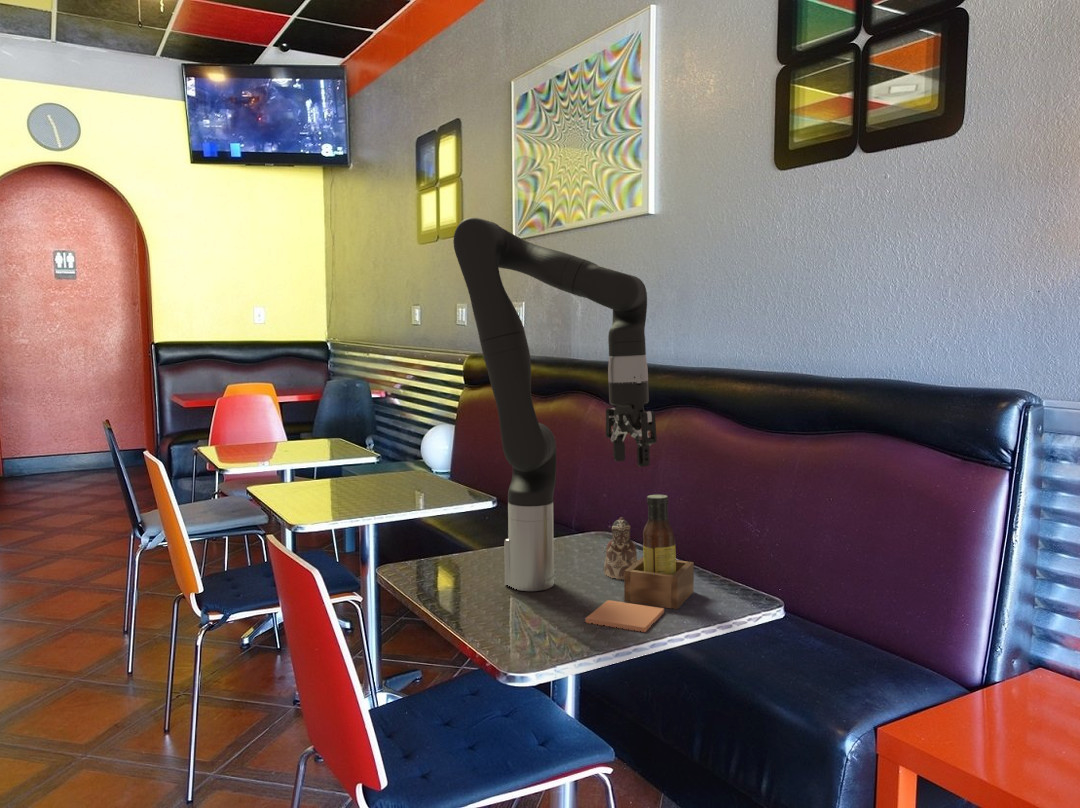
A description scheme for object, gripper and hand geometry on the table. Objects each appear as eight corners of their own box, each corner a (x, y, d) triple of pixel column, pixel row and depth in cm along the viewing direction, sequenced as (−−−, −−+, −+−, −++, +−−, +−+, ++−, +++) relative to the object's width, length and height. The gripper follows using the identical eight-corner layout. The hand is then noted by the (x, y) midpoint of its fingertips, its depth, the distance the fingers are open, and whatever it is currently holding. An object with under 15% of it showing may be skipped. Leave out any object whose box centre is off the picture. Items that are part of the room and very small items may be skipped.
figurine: (601, 577, 165) (601, 521, 164) (607, 568, 172) (608, 514, 171) (634, 580, 163) (634, 523, 162) (640, 571, 170) (640, 516, 169)
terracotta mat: (585, 622, 138) (585, 618, 138) (607, 604, 148) (607, 600, 148) (645, 632, 133) (645, 627, 133) (664, 612, 143) (664, 608, 143)
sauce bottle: (681, 595, 153) (682, 494, 152) (669, 604, 148) (670, 500, 147) (650, 589, 157) (650, 491, 155) (637, 598, 151) (638, 497, 150)
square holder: (624, 601, 149) (624, 570, 149) (643, 585, 160) (643, 556, 159) (677, 609, 145) (677, 577, 144) (693, 591, 155) (693, 562, 155)
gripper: (592, 380, 154) (595, 461, 155) (631, 381, 141) (635, 470, 143) (625, 377, 157) (628, 457, 159) (666, 379, 145) (669, 465, 146)
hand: (631, 463), depth 151 cm, fingers open, 8 cm apart
